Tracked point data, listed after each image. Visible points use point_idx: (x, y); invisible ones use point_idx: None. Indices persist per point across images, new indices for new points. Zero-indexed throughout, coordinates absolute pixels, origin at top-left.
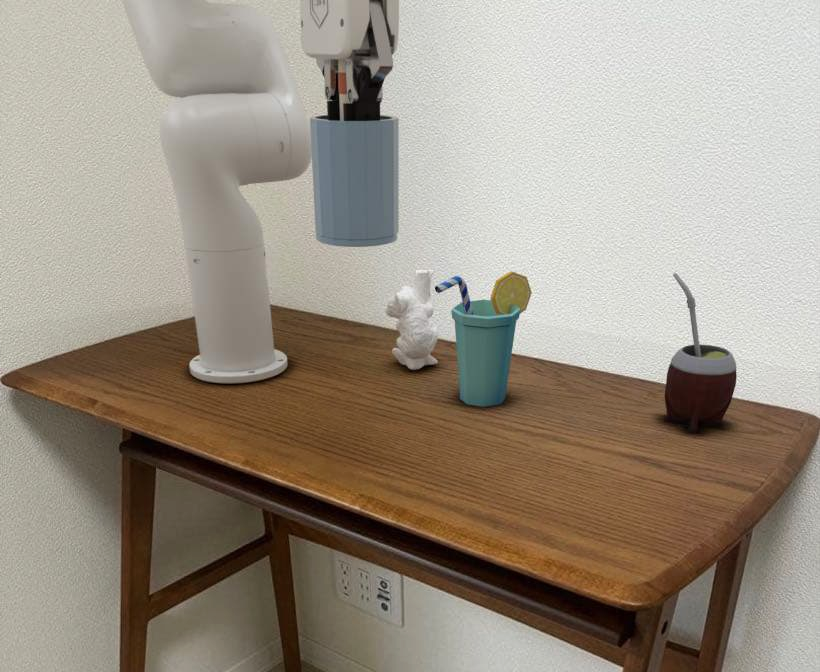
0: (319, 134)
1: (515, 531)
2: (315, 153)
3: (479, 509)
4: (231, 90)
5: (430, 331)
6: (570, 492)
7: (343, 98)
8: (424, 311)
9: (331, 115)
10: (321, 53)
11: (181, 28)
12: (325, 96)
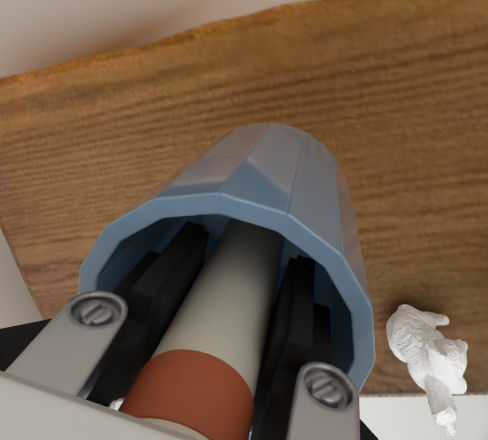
0: (219, 177)
1: (61, 94)
2: (263, 166)
3: (106, 102)
4: None
5: (392, 343)
6: (88, 180)
7: (188, 337)
8: (409, 361)
9: (287, 311)
10: (153, 434)
11: None
12: (350, 380)
